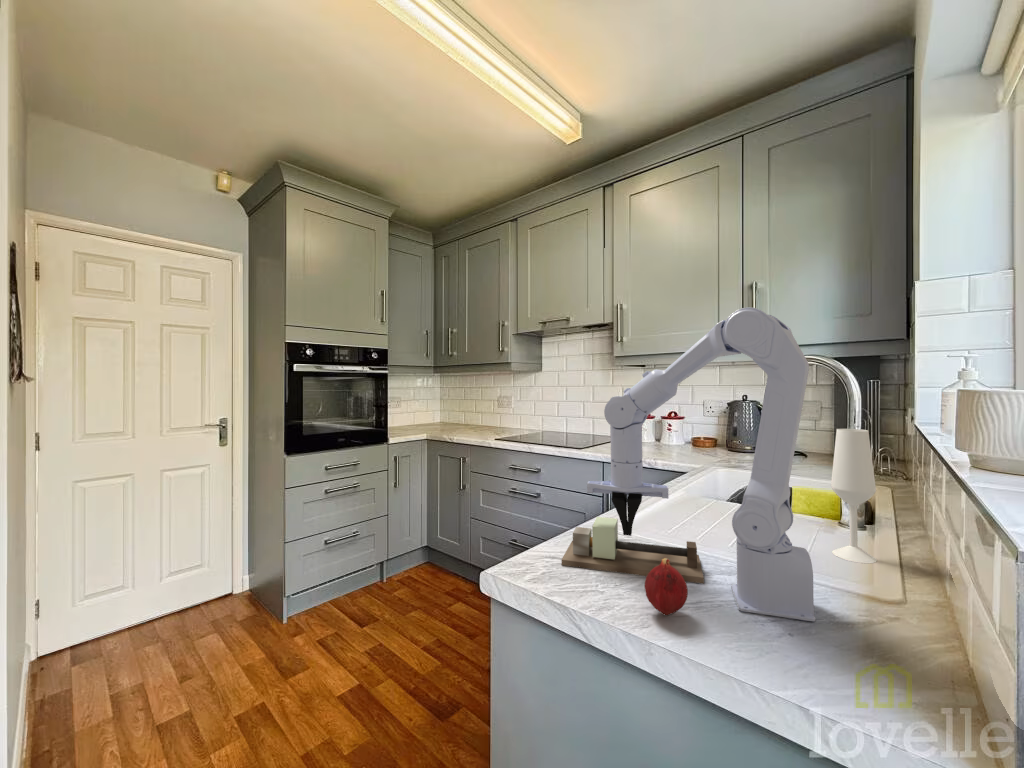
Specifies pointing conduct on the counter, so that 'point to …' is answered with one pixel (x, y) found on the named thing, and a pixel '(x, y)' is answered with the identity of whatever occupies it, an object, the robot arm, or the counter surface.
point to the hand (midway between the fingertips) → (627, 533)
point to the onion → (666, 588)
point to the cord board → (633, 557)
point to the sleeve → (605, 537)
